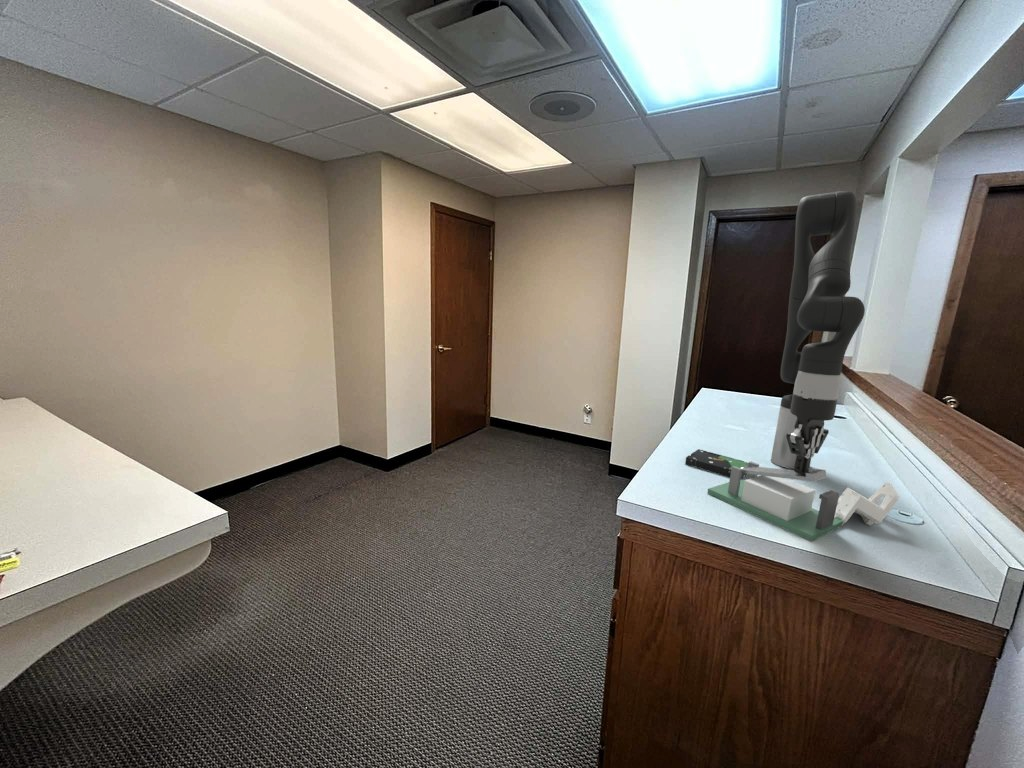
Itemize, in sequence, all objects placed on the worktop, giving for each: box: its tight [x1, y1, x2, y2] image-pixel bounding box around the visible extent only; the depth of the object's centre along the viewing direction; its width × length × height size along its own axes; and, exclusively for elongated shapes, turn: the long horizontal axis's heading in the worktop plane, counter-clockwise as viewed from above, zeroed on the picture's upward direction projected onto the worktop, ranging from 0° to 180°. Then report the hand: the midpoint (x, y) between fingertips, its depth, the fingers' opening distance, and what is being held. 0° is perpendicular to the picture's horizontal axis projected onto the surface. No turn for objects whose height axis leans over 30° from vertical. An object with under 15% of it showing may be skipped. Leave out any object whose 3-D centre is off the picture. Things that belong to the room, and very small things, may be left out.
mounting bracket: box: [834, 481, 900, 527], centre depth 91 cm, size 12×6×11 cm, turn 147°
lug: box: [816, 489, 840, 530], centre depth 85 cm, size 5×2×7 cm, turn 120°
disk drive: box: [684, 449, 749, 480], centre depth 118 cm, size 10×3×15 cm
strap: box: [741, 465, 827, 482], centre depth 93 cm, size 5×17×2 cm, turn 30°
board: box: [707, 461, 844, 542], centre depth 94 cm, size 13×23×8 cm, turn 30°
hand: (800, 472), depth 89 cm, fingers closed
